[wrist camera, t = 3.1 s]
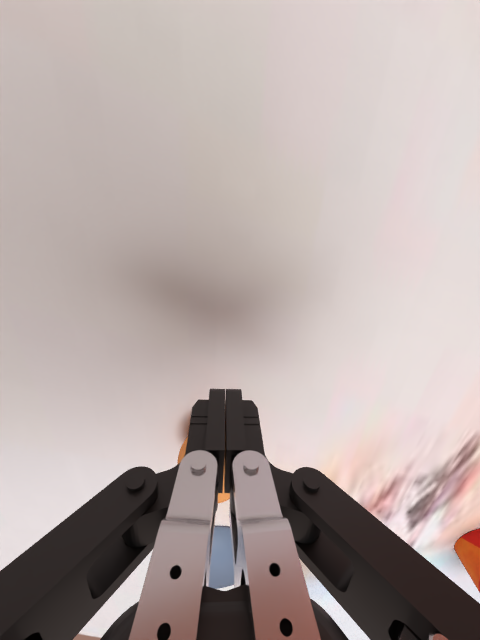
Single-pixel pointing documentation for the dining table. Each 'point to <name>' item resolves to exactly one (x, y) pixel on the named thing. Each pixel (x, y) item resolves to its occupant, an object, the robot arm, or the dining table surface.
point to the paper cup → (470, 554)
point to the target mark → (221, 559)
